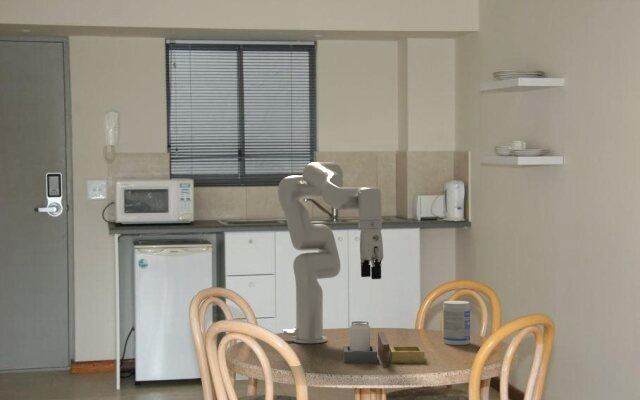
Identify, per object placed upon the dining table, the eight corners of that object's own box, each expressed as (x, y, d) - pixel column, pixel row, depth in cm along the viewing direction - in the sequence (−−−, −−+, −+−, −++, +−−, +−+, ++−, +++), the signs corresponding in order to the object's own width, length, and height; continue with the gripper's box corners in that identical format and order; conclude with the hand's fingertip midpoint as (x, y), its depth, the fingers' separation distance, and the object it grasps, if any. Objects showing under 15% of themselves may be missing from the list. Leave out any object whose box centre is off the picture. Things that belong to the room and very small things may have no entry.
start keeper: (344, 362, 308) (344, 351, 308) (343, 356, 318) (343, 346, 318) (377, 362, 308) (377, 351, 308) (375, 356, 318) (375, 346, 318)
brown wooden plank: (382, 367, 301) (382, 344, 301) (377, 352, 325) (377, 331, 325) (389, 367, 301) (389, 344, 301) (383, 352, 325) (383, 331, 325)
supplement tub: (471, 346, 338) (471, 303, 338) (443, 345, 339) (443, 303, 338) (468, 341, 348) (469, 300, 347) (442, 340, 348) (442, 300, 348)
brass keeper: (391, 362, 308) (391, 351, 308) (389, 356, 318) (389, 345, 318) (424, 362, 308) (424, 351, 308) (420, 356, 318) (420, 345, 318)
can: (368, 362, 309) (368, 324, 309) (348, 361, 311) (348, 323, 310) (371, 358, 316) (371, 321, 315) (351, 357, 317) (351, 320, 317)
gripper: (390, 225, 310) (391, 279, 310) (371, 224, 326) (372, 275, 326) (368, 226, 308) (369, 280, 308) (350, 225, 324) (351, 276, 324)
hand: (371, 277), depth 317 cm, fingers open, 9 cm apart
